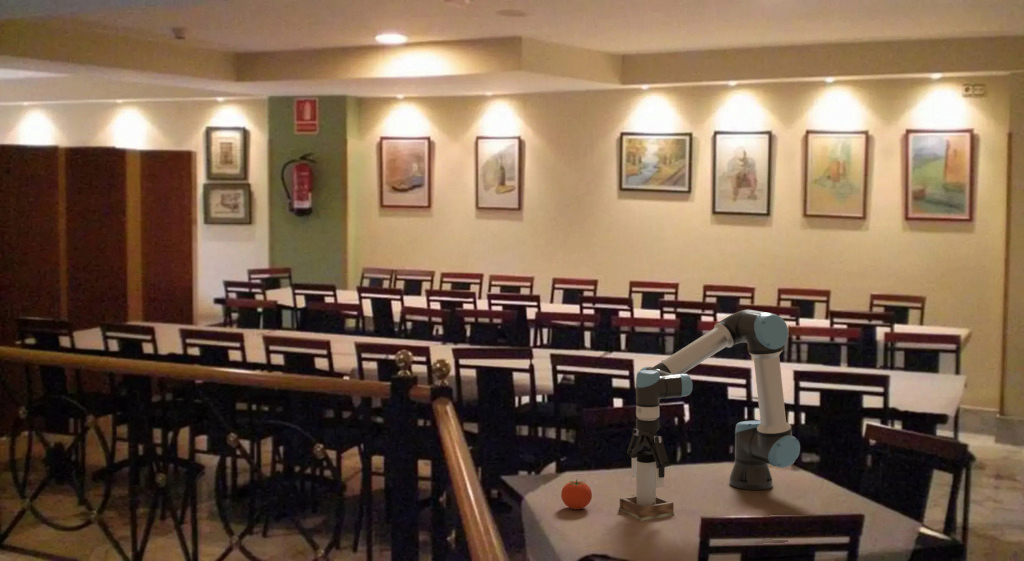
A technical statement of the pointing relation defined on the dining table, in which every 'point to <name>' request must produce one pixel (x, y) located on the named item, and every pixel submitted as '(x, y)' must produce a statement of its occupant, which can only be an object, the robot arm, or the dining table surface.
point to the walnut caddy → (646, 508)
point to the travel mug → (646, 478)
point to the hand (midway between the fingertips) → (647, 481)
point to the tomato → (576, 494)
